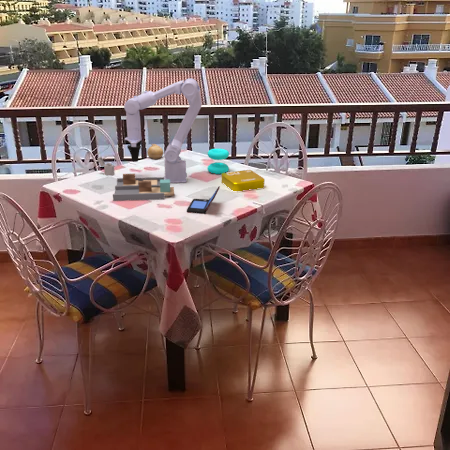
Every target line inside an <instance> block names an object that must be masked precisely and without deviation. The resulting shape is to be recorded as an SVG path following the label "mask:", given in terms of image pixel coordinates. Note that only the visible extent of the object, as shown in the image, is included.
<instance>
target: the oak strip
mask: <svg viewBox="0 0 450 450" xmlns="http://www.w3.org/2000/svg"><path fill="white" fill-rule="evenodd" d="M139 193H164V197H165V196H167V197H168V196H171V197H172V196H175V186H170V192H160V187H154V188H152V185H151V181H139Z"/></svg>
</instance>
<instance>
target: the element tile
mask: <svg viewBox="0 0 450 450" xmlns="http://www.w3.org/2000/svg"><path fill="white" fill-rule="evenodd" d="M223 183H224V184H225V185H226V186H227V187H226V186H225V185H224V184H223ZM221 184H223V185H224V186H225V187H226V188H228V187H229V188H230V189H231V190H233V191H242V192H244V191H243V190H249V189H256V190H258V189H257V188H263V187H264V188H265V178H264V177H263V176H261V175H260V174H258V173H256V172H255V171H253V170H251V169H246V170H245V169H244V170H237V171H228V172H226V173H222V174H221ZM229 188H228V189H229ZM264 188H263V189H264ZM230 189H229V190H230ZM231 190H230V191H231ZM233 191H232V192H233ZM249 191H250V190H249Z"/></svg>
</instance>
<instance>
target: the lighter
mask: <svg viewBox="0 0 450 450" xmlns="http://www.w3.org/2000/svg"><path fill="white" fill-rule="evenodd" d="M97 161H98V163H99V166H100V167H104V176H115V174H116V173H115V166H114V165H113V164H112V163H110V162H107V163H105V161H104V159H103V157H102V156H99V157H97Z"/></svg>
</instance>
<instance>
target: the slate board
mask: <svg viewBox="0 0 450 450" xmlns="http://www.w3.org/2000/svg"><path fill="white" fill-rule="evenodd" d="M135 180H138V185H125V186H123V177H118V178H116V185H115V186H114V190H115V191H114V193H113V194H112V201H113V202H121V201H122V202H123V201H155V200H157V201H158V200H159V201H160V200H162V201H163V200H165V196H164V193H139V181H151V185H152V188H154V187H160V180H164V176H159V177H158V176H157V177H155V176H154V177H153V176H152V177H135Z"/></svg>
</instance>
